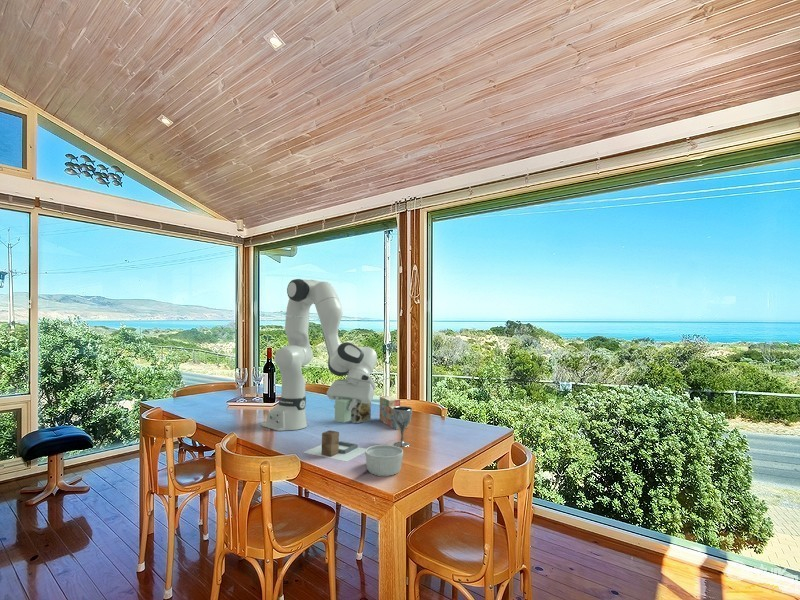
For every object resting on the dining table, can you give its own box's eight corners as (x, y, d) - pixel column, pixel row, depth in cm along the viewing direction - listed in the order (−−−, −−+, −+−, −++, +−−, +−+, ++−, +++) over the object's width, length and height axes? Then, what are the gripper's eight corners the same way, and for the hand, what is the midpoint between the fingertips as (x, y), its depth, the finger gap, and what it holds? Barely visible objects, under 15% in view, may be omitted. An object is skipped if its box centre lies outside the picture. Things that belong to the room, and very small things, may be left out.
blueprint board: (302, 455, 154) (302, 449, 154) (328, 444, 168) (328, 438, 168) (346, 465, 145) (346, 458, 145) (369, 452, 159) (370, 446, 159)
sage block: (334, 421, 159) (335, 400, 159) (341, 418, 163) (341, 398, 163) (344, 422, 157) (344, 401, 157) (350, 420, 161) (351, 399, 161)
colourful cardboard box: (407, 428, 196) (408, 403, 197) (396, 430, 193) (396, 403, 194) (390, 418, 215) (390, 395, 216) (379, 419, 213) (379, 396, 213)
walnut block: (321, 454, 151) (322, 433, 152) (328, 451, 155) (329, 430, 156) (331, 456, 149) (331, 434, 150) (338, 453, 153) (339, 431, 154)
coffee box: (356, 423, 203) (357, 391, 204) (349, 421, 208) (350, 389, 208) (371, 421, 209) (371, 389, 210) (363, 418, 214) (364, 387, 214)
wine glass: (393, 441, 175) (393, 406, 175) (411, 441, 174) (412, 406, 175) (392, 447, 167) (392, 410, 167) (411, 447, 166) (412, 410, 167)
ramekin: (384, 481, 131) (385, 459, 131) (356, 471, 139) (357, 450, 140) (410, 470, 141) (411, 450, 141) (382, 461, 149) (383, 442, 150)
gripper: (332, 374, 171) (317, 401, 162) (374, 377, 162) (360, 407, 153) (338, 383, 175) (324, 410, 166) (379, 387, 166) (366, 416, 157)
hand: (342, 409), depth 159 cm, fingers closed on sage block, 4 cm apart
